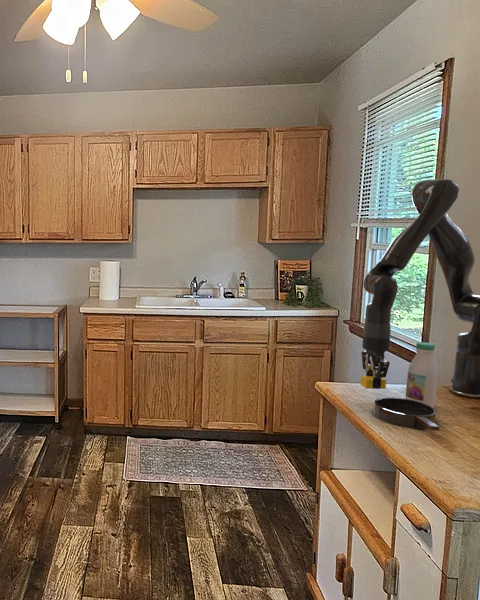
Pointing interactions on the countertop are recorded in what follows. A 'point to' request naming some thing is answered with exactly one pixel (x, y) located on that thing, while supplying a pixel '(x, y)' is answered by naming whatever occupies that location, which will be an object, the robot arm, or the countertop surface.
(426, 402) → the milk bottle
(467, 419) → the countertop surface
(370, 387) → the sponge
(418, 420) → the pan handle
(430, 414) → the pan
